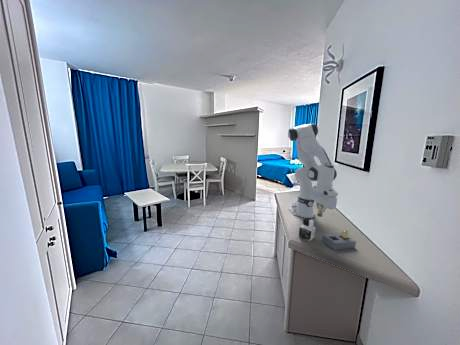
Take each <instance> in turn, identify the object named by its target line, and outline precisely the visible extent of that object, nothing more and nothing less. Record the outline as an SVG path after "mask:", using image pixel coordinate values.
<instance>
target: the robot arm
mask: <svg viewBox="0 0 460 345" xmlns="http://www.w3.org/2000/svg"><path fill="white" fill-rule="evenodd" d="M318 133H319V127H318V125H317V124H316V123H307V124H301V125H298V126H295V127H294V126H293V127H290V128H289V129H288V132H287V137H288V138H289V140H290V141H291V142H295V141H296V153H297V158H298V161H299V163H301V164H302V165H303V166H302V167H299V168H296V170H295V171H294V178H295V179H296V181H297V182H298V183H299V194H298V195H299V196H297V200H296V201H294V202H292V203H291V207H288V210H289V211H290V212H291V214H292V215H294V216H296V217H301V218H304V219H305V218H310V219H312V218H314V217H315V215H316V212H315V205H316V209H317V210H318V206H319V204H321V205H323V209H321V212H323V213H325V212H326V210H327V209H329V210H335V209H336V207H337V203H338V198H337V197H338V195H339V193H338V192H337V191H336V190H335V189H334V188H333V183H334V182H333V181H335V179H336V178H337V175H338V171H337V170H336V169H335V166H334V165H333V164H332V162H331V160H330V158H329V156H328V153H327V152H326V151H325V149H324V147H322V145H320V143H319V141H318V140H317V138H316V137H317V135H318ZM315 157H316V158H317V159H318V160H319V162H320V164H319V165H318V163H317V161H316V160H315ZM312 182H317V183H316V185H315V186H313V185H312V184H313V183H312Z"/></svg>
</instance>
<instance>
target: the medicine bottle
mask: <svg viewBox="0 0 460 345" xmlns="http://www.w3.org/2000/svg"><path fill="white" fill-rule="evenodd" d="M314 222H315V221H314V219H312V218H305V217H304V218H303V221H302V225H301V226H299V231H298V232H299V233H298V238H300V239H303V240H305V241H307V242H311V241H312V240H313V239H314V238H315V234H316V226H314V225H315V224H314Z"/></svg>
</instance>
